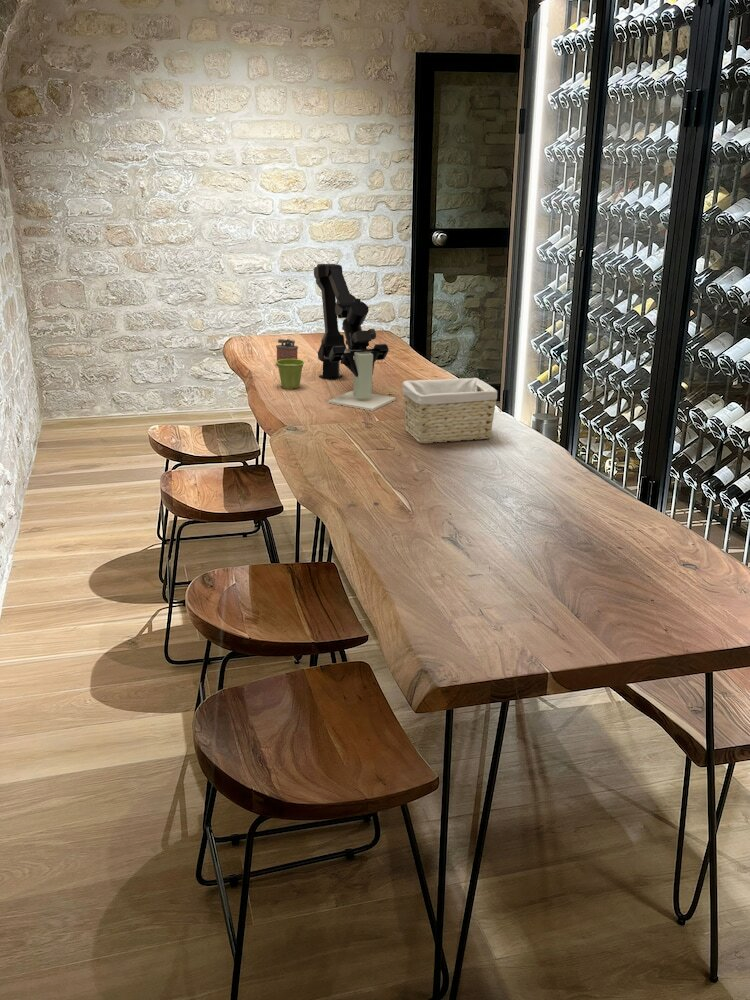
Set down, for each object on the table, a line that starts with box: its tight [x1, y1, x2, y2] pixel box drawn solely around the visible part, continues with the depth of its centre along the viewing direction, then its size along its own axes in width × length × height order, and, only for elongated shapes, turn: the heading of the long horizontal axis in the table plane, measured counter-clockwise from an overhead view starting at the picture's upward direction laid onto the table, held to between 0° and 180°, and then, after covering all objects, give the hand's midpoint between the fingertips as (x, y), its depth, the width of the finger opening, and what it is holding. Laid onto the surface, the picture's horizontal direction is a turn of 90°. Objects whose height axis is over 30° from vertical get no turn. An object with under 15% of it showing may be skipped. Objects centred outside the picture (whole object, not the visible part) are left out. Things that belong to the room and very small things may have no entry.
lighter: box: [275, 338, 299, 367], centre depth 320 cm, size 8×3×10 cm, turn 84°
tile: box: [327, 390, 397, 412], centre depth 279 cm, size 16×16×1 cm
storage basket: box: [401, 377, 498, 444], centre depth 247 cm, size 24×16×15 cm
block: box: [352, 351, 374, 399], centre depth 276 cm, size 4×4×14 cm
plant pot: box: [275, 358, 305, 390], centre depth 292 cm, size 9×9×9 cm
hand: (364, 375), depth 275 cm, fingers closed on block, 5 cm apart
